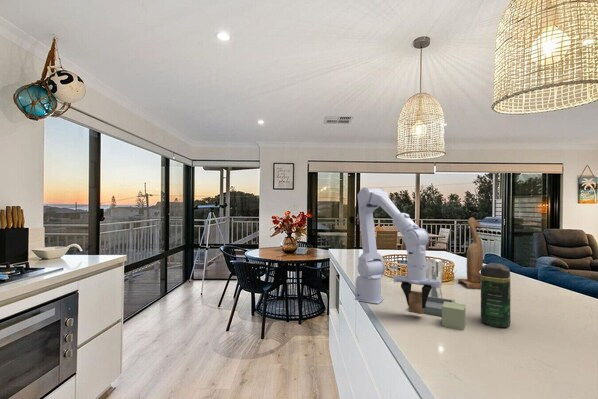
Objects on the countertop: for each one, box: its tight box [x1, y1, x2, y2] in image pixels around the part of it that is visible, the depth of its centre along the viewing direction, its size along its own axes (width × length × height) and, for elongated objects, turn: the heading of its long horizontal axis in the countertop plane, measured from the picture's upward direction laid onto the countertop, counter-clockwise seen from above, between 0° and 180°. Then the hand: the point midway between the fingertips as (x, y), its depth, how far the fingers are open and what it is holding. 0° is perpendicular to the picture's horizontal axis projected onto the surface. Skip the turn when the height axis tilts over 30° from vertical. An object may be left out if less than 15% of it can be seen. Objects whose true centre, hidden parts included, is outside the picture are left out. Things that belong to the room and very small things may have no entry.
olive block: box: [441, 301, 467, 331], centre depth 94 cm, size 6×6×6 cm
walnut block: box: [408, 290, 424, 315], centre depth 100 cm, size 4×4×6 cm
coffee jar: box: [480, 262, 512, 328], centre depth 96 cm, size 10×8×19 cm
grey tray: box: [422, 296, 456, 317], centre depth 109 cm, size 13×13×2 cm
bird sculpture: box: [457, 216, 484, 290], centre depth 140 cm, size 11×12×32 cm
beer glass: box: [426, 258, 444, 298], centre depth 123 cm, size 7×7×15 cm
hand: (416, 306), depth 100 cm, fingers closed on walnut block, 4 cm apart
